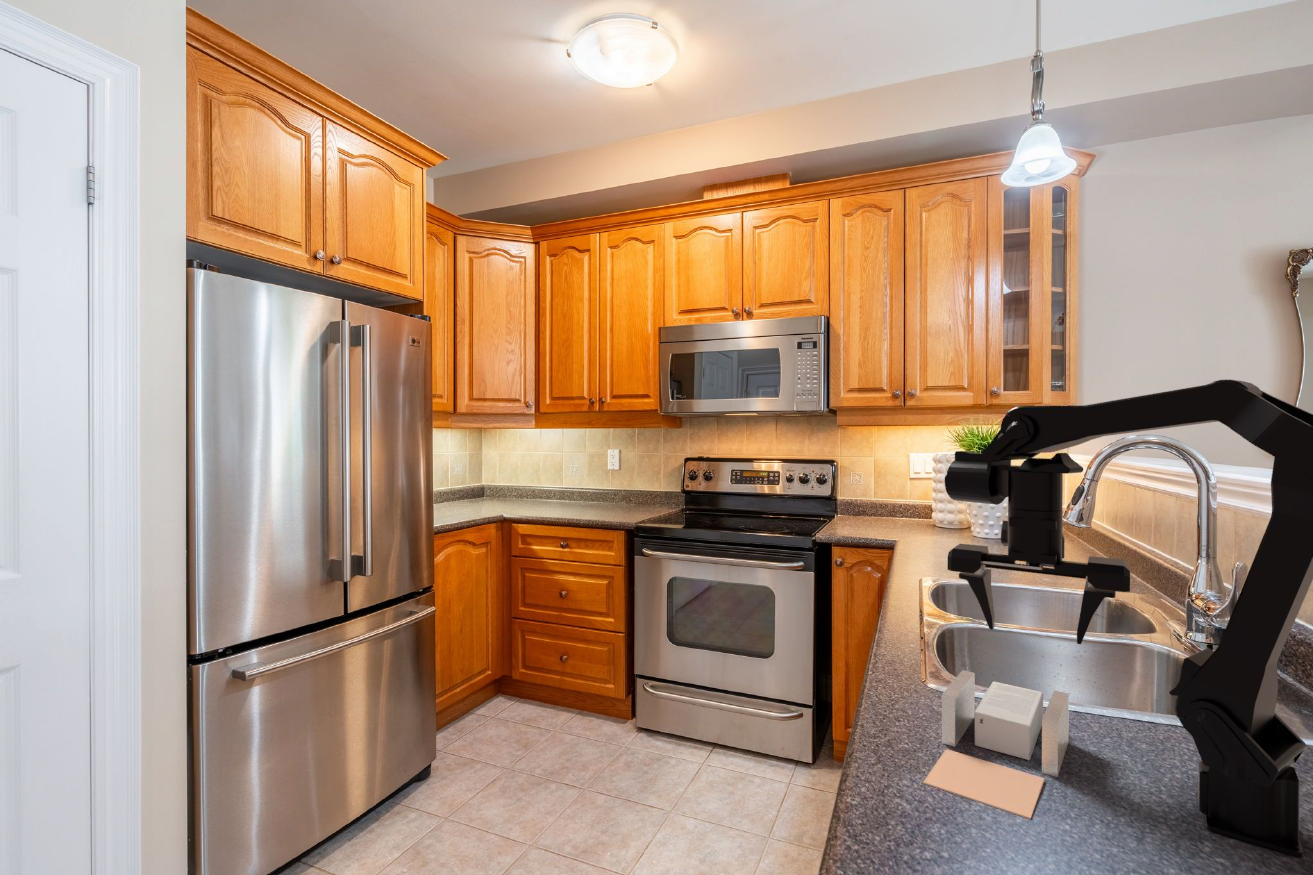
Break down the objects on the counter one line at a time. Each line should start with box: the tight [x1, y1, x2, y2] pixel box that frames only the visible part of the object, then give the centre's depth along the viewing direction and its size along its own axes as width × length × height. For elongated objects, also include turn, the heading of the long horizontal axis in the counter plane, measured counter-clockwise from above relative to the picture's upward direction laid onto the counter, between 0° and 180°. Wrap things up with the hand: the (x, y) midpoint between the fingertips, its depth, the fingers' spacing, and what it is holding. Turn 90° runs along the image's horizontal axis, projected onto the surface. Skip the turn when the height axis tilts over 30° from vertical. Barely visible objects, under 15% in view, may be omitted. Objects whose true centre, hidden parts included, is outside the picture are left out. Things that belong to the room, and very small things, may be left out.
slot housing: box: [941, 669, 1070, 778], centre depth 77 cm, size 12×10×6 cm
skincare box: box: [973, 681, 1044, 761], centre depth 79 cm, size 6×4×12 cm
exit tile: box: [922, 748, 1045, 820], centre depth 68 cm, size 10×9×1 cm
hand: (1033, 635), depth 77 cm, fingers open, 9 cm apart
